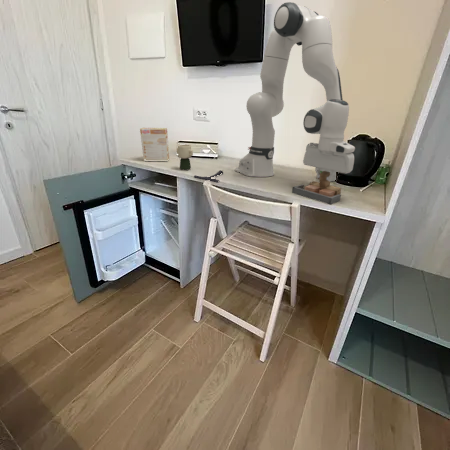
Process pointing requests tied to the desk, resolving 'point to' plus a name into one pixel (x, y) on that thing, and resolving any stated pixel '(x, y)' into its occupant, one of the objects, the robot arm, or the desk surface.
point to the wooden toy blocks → (326, 183)
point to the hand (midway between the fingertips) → (323, 179)
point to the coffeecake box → (154, 143)
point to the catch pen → (315, 195)
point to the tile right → (327, 192)
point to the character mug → (184, 156)
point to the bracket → (209, 177)
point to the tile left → (312, 188)
